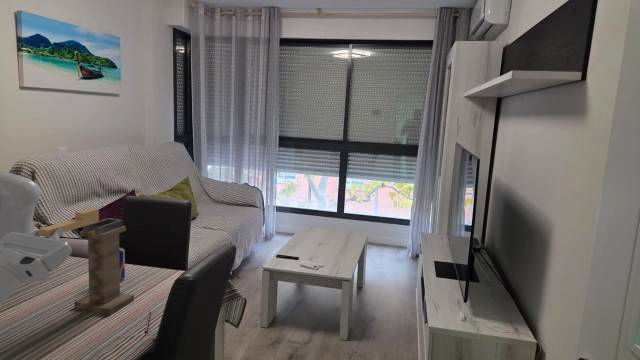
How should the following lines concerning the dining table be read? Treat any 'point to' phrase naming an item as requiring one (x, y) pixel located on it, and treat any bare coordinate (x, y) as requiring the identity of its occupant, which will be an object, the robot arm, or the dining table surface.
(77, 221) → the wooden stick
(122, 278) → the energy drink
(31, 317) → the dining table surface
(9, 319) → the dining table surface
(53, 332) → the dining table surface
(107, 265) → the holder stand
